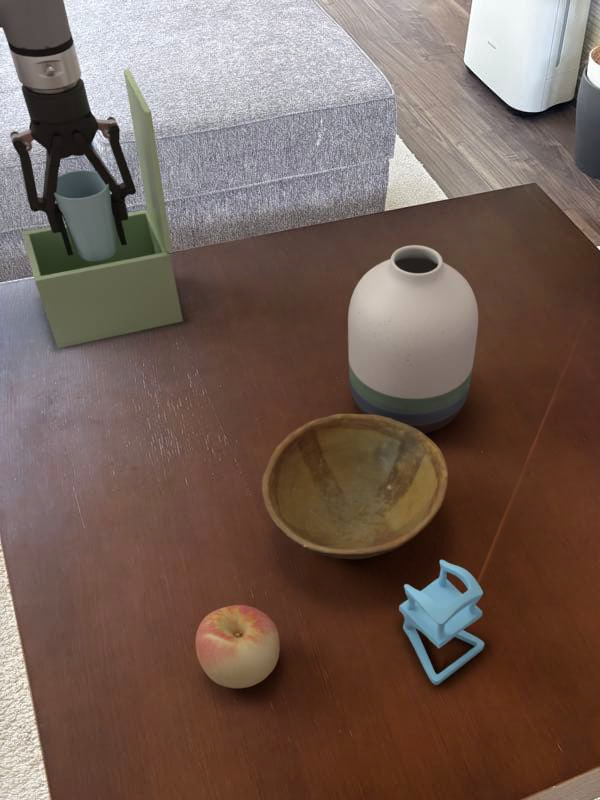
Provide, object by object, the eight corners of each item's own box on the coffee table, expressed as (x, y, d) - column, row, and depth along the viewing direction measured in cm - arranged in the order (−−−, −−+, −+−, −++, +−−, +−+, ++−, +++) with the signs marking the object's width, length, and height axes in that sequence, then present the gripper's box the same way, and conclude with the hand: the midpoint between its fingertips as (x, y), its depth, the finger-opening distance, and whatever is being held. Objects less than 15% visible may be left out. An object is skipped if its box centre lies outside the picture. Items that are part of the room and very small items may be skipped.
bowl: (480, 537, 109) (490, 484, 101) (339, 635, 99) (337, 584, 91) (370, 441, 119) (371, 386, 111) (231, 522, 109) (221, 467, 101)
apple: (193, 648, 97) (182, 608, 91) (268, 623, 100) (262, 582, 93) (215, 712, 92) (204, 675, 86) (293, 684, 95) (289, 646, 89)
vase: (393, 352, 131) (398, 206, 112) (488, 398, 125) (511, 252, 107) (325, 414, 122) (318, 266, 103) (424, 466, 116) (437, 320, 97)
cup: (115, 231, 129) (98, 164, 121) (132, 257, 125) (116, 190, 117) (64, 244, 127) (44, 176, 119) (80, 271, 123) (60, 204, 115)
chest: (58, 349, 128) (34, 280, 119) (44, 300, 135) (21, 231, 126) (183, 322, 133) (170, 254, 124) (163, 276, 140) (149, 209, 131)
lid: (144, 112, 108) (151, 111, 108) (123, 69, 115) (129, 68, 116) (166, 252, 124) (172, 251, 124) (146, 206, 131) (151, 206, 131)
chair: (436, 602, 102) (443, 539, 93) (485, 648, 99) (498, 587, 89) (387, 638, 99) (390, 576, 90) (435, 687, 95) (444, 628, 86)
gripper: (-30, 105, 102) (29, 272, 120) (138, 82, 108) (169, 245, 126) (-36, 79, 107) (21, 244, 125) (125, 58, 112) (158, 219, 130)
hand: (95, 244), depth 125 cm, fingers closed on cup, 7 cm apart
